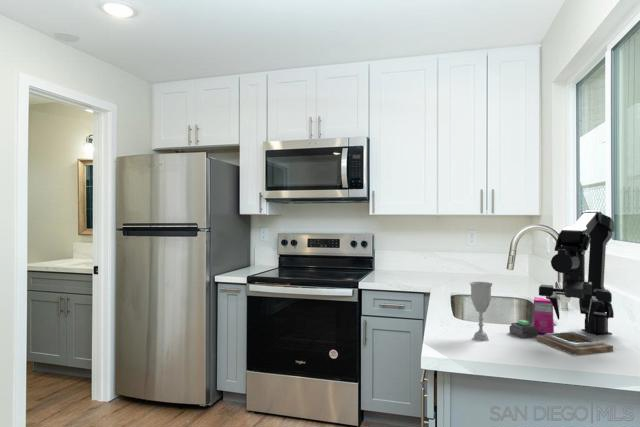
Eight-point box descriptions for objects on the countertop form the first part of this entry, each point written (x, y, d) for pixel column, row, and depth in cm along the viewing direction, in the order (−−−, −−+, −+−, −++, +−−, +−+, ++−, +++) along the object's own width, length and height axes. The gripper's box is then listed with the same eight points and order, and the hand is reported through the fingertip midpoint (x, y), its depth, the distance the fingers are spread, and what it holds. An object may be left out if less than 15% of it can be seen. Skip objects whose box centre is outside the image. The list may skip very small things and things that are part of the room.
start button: (524, 323, 138) (524, 319, 138) (531, 325, 135) (531, 322, 135) (515, 323, 137) (515, 320, 137) (522, 326, 134) (522, 322, 134)
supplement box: (534, 329, 143) (534, 296, 143) (554, 331, 140) (554, 298, 140) (533, 333, 138) (533, 299, 138) (553, 336, 135) (553, 301, 135)
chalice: (484, 344, 126) (484, 286, 126) (464, 339, 132) (464, 283, 132) (497, 340, 130) (497, 283, 131) (478, 335, 136) (478, 281, 136)
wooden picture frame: (572, 337, 134) (572, 329, 134) (613, 351, 120) (613, 342, 120) (537, 340, 130) (537, 332, 130) (574, 354, 117) (574, 346, 117)
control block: (524, 331, 140) (524, 321, 140) (537, 336, 134) (537, 326, 134) (509, 333, 138) (509, 322, 138) (522, 338, 133) (522, 327, 133)
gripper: (537, 270, 123) (537, 322, 123) (613, 275, 114) (613, 331, 114) (539, 266, 133) (539, 315, 133) (609, 271, 123) (609, 322, 123)
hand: (573, 320), depth 125 cm, fingers open, 8 cm apart
